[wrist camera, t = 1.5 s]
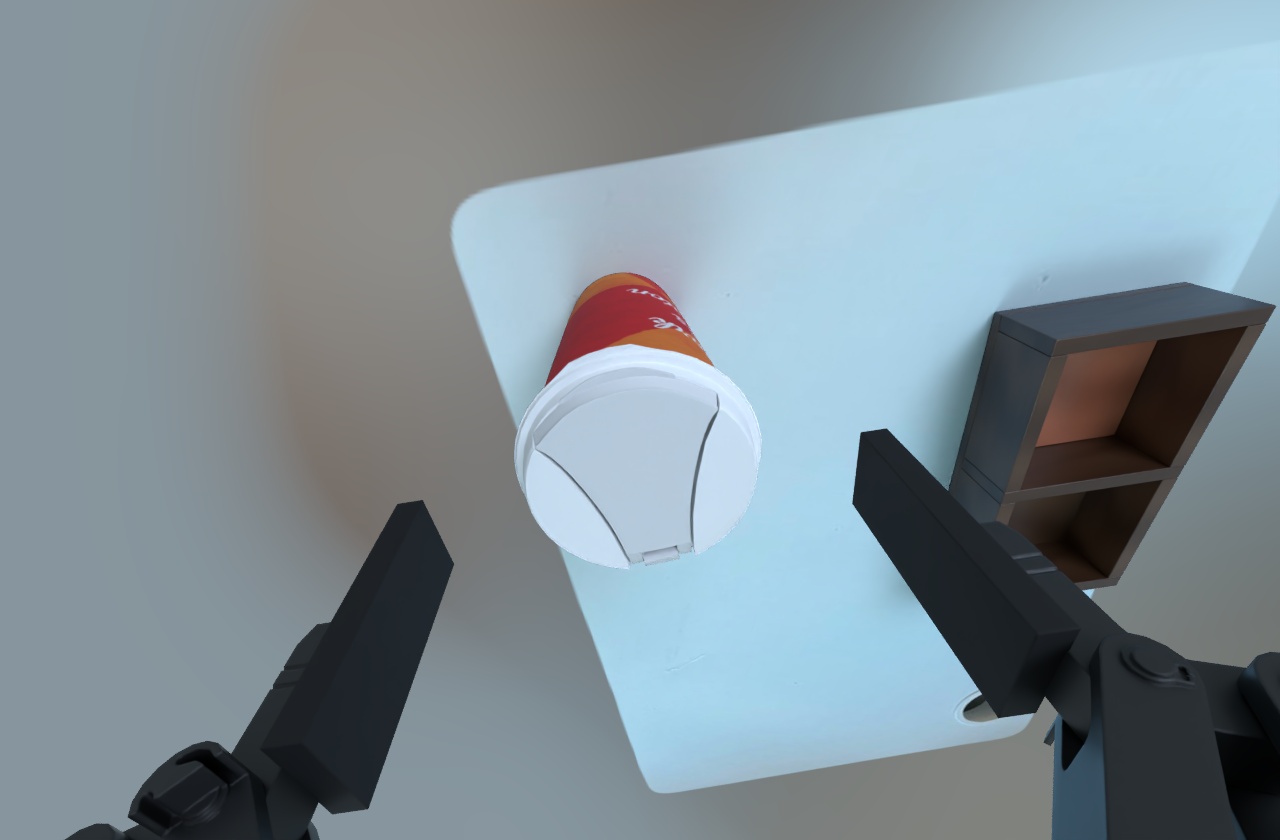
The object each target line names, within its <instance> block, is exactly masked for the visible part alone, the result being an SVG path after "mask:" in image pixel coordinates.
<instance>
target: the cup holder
mask: <svg viewBox="0 0 1280 840" xmlns="http://www.w3.org/2000/svg"><path fill="white" fill-rule="evenodd" d="M1275 308H1276V306H1275V305H1272V304H1268V303H1264V302H1260V301H1256V300H1253V299H1249V298H1245V297H1241V296H1237V295H1233V294H1229V293H1225V292H1221V291H1217V290H1214V289H1210V288H1206V287H1202V286H1198V285H1194V284H1191V283H1187V282H1183V283H1176V284H1170V285H1164V286H1157V287H1151V288H1145V289H1138V290H1132V291H1126V292H1119V293H1113V294H1107V295H1100V296H1094V297H1088V298H1082V299H1075V300H1069V301H1063V302H1056V303H1050V304H1044V305H1037V306H1031V307H1025V308H1018V309H1012V310H1006V311H999V312H995V314H994V318H993V322H992V326H991V330H990V334H989V338H988V341H987V345H986V349H985V353H984V357H983V361H982V365H981V369H980V372H979V376H978V380H977V384H976V388H975V392H974V396H973V399H972V403H971V407H970V411H969V415H968V419H967V423H966V427H965V430H964V434H963V438H962V442H961V446H960V450H959V454H958V458H957V461H956V465H955V469H954V473H953V477H952V481H951V485H950V488H949V493H950V494H951V495H952V496H953V497H954V498H955V499H956V500H957V501H958V502H959V503H960V504H961V505H962V506H963V507H964V508H965V509H966V510H967V511H968V513H969V514H970V515H971V516H972V517H973V518H974V519H975V520H976V521H977V522H978V523H986V522H992V521H1000V522H1001V523H1003V524H1005V525H1007V526H1008V527H1010V528H1012V529H1014V530H1015V531H1017V532H1019V533H1021V534H1022V535H1024V536H1025V537H1026V538H1027V539H1028V540H1029V541H1030V542H1031V543H1032V544H1033V545H1034V546H1035V547H1036V548H1037V549H1038V550H1039V551H1041V552H1042V553H1041V554H1042V556H1046V557H1047V558H1048V559H1049V560H1050V561H1051V562H1052V563H1053V564H1054V565H1055V566H1056V567H1057V570H1058V571H1062V572H1063V573H1064V574H1065V575H1066V576H1067V577H1068V578H1069V579H1070V580H1071V581H1072V582H1073V583H1074V584H1075V585H1076V586H1078V587H1079V588H1080V589H1081V590H1088V589H1094V588H1101V587H1108V586H1114V585H1117V583H1118V581H1119V579H1120V578H1121V576H1122V574H1123V572H1124V571H1125V569H1126V567H1127V566H1128V564H1129V562H1130V560H1131V558H1132V557H1133V555H1134V553H1135V552H1136V550H1137V548H1138V546H1139V545H1140V543H1141V541H1142V539H1143V538H1144V536H1145V534H1146V532H1147V531H1148V529H1149V527H1150V525H1151V524H1152V522H1153V520H1154V518H1155V517H1156V515H1157V513H1158V511H1159V510H1160V508H1161V506H1162V505H1163V503H1164V501H1165V499H1166V498H1167V496H1168V494H1169V492H1170V490H1171V489H1172V487H1173V485H1174V484H1175V482H1176V480H1177V477H1178V476H1179V475H1180V473H1181V471H1182V469H1183V468H1184V465H1186V463H1187V461H1188V459H1189V458H1190V456H1191V454H1192V452H1193V451H1194V449H1195V447H1196V446H1197V444H1198V442H1199V440H1200V439H1201V437H1202V435H1203V433H1204V432H1205V430H1206V428H1207V426H1208V425H1209V423H1210V421H1211V419H1212V418H1213V416H1214V414H1215V413H1216V411H1217V409H1218V407H1219V406H1220V404H1221V402H1222V400H1223V399H1224V397H1225V395H1226V393H1227V392H1228V390H1229V388H1230V386H1231V385H1232V383H1233V381H1234V379H1235V378H1236V376H1237V374H1238V373H1239V370H1240V369H1241V367H1242V366H1243V364H1244V362H1245V360H1246V359H1247V357H1248V355H1249V353H1250V352H1251V350H1252V348H1253V346H1254V345H1255V343H1256V341H1257V339H1258V338H1259V336H1260V334H1261V333H1262V331H1263V329H1264V327H1265V325H1266V324H1265V323H1266V322H1267V321H1268V320H1269V318H1270V316H1271V314H1272V313H1273V311H1274V309H1275Z"/></svg>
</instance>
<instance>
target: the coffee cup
mask: <svg viewBox="0 0 1280 840" xmlns="http://www.w3.org/2000/svg"><path fill="white" fill-rule="evenodd" d="M760 458H761V434H760V429H759V423H758V420H757V418H756V415H755V413H754V410H753V408H752V406H751V404H750V403H749V401H748V400H747V398H746V397H745V395H744V394H743V392H742V391H741V390H740V389H739V388H738V387H737V386H736V385H735V383H734V382H733V381H732V380H731V379H730V378H729V377H727V376H726V375H724V374H723V373H722V372H720V371H719V370H717V369H716V368H715V367H714V365H713V364H712V362H711V361H710V359H709V358H708V356H707V354H706V353H705V351H704V350H703V348H702V347H701V345H700V343H699V342H698V340H697V339H696V337H695V336H694V334H693V332H692V331H691V329H690V328H689V326H688V325H687V323H686V322H685V320H684V319H683V317H682V315H681V314H680V312H679V311H678V309H677V308H676V306H675V305H674V304H673V302H672V301H671V299H670V298H669V297H668V295H667V294H666V293H665V292H664V291H663V290H662V289H661V288H660V287H659V286H658V285H657V284H656V283H654V282H653V281H651V280H650V279H648V278H646V277H643V276H641V275H637V274H633V273H615V274H610V275H607V276H604V277H602V278H600V279H598V280H596V281H595V282H593V283H592V284H591V285H590V286H588V287H587V288H586V289H585V291H584V292H583V293H582V294H581V296H580V297H579V299H578V301H577V302H576V304H575V306H574V309H573V311H572V313H571V316H570V318H569V321H568V323H567V326H566V329H565V331H564V334H563V337H562V340H561V342H560V345H559V348H558V351H557V353H556V356H555V359H554V362H553V365H552V367H551V370H550V373H549V376H548V379H547V381H546V384H545V387H544V388H543V389H542V390H541V391H540V392H539V393H538V394H537V396H536V397H535V399H534V400H533V401H532V403H531V404H530V405H529V407H528V408H527V410H526V412H525V414H524V417H523V419H522V421H521V423H520V425H519V429H518V433H517V437H516V441H515V453H514V461H515V468H516V475H517V478H518V481H519V484H520V486H521V489H522V491H523V493H524V495H525V496H526V499H527V502H528V505H529V508H530V511H531V512H532V514H533V516H534V517H535V520H536V521H537V523H538V524H539V525H540V527H541V528H542V529H543V530H544V532H545V533H546V534H547V535H548V536H549V537H550V538H551V539H552V540H553V541H554V542H555V543H557V544H558V545H559V546H560V547H562V548H563V549H565V550H566V551H568V552H570V553H571V554H573V555H575V556H577V557H579V558H582V559H584V560H586V561H589V562H592V563H596V564H599V565H603V566H608V567H613V568H622V569H630V561H631V562H632V563H633V564H634V563H638V562H643V561H644V562H645V565H651V564H656V563H661V562H666V561H671V560H676V559H679V554H683V553H688V552H691V547H693V548H694V552H695V556H696V555H698V554H700V553H702V552H704V551H706V550H707V549H709V548H710V547H712V546H713V545H715V544H716V543H718V542H719V541H720V540H722V539H723V538H724V537H725V536H726V535H727V534H728V533H729V532H730V531H732V529H733V528H734V527H735V526H736V524H737V523H738V522H739V521H740V520H741V518H742V517H743V515H744V513H745V511H746V510H747V508H748V506H749V504H750V501H751V499H752V496H753V494H754V491H755V486H756V481H757V471H758V468H759V463H760Z"/></svg>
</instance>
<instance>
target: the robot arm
mask: <svg viewBox="0 0 1280 840" xmlns="http://www.w3.org/2000/svg"><path fill="white" fill-rule="evenodd" d="M852 504H853V505H854V507H855V508H856V510H857V511H858V513H859V514H860V515H861V517H862V518H863V520H864V521H865V523H866V524H867V526H868V527H869V529H870V530H871V532H872V533H873V535H874V536H875V537H876V539H877V540H878V542H879V543H880V545H881V546H882V548H883V549H884V551H885V552H886V554H887V555H888V557H889V558H890V560H891V561H892V562H893V564H894V565H895V567H896V568H897V570H898V571H899V573H900V574H901V576H902V577H903V579H904V580H905V582H906V583H907V585H908V586H909V587H910V589H911V590H912V592H913V593H914V595H915V596H916V598H917V599H918V601H919V602H920V604H921V605H922V607H923V608H924V609H925V611H926V612H927V614H928V615H929V617H930V618H931V620H932V621H933V623H934V624H935V626H936V627H937V629H938V630H939V632H940V633H941V634H942V636H943V637H944V639H945V640H946V642H947V643H948V645H949V646H950V648H951V649H952V651H953V652H954V654H955V655H956V657H957V658H958V659H959V661H960V662H961V664H962V665H963V667H964V668H965V670H966V671H967V673H968V674H969V676H970V677H971V679H972V680H973V681H974V683H975V684H976V686H977V687H978V689H979V690H980V692H981V693H982V695H983V696H984V698H985V699H986V701H987V702H988V704H989V705H990V706H991V708H992V709H993V711H994V712H995V714H996V715H997V717H998V718H1003V717H1010V716H1017V715H1024V714H1031V713H1036V712H1037V710H1038V708H1039V706H1040V704H1041V702H1042V701H1043V699H1044V697H1046V698H1047V699H1048V700H1049V702H1050V703H1051V704H1052V705H1053V707H1054V708H1055V709H1056V711H1057V712H1058V713H1059V714H1058V716H1057V717H1056V719H1055V721H1054V722H1053V724H1052V726H1051V727H1050V729H1049V731H1048V733H1047V735H1046V737H1045V740H1044V743H1046V744H1048V745H1050V746H1051V744H1052V743H1053V741H1054V740H1055V744H1054V777H1053V780H1054V781H1053V813H1052V814H1053V815H1052V840H1280V653H1276V652H1269V653H1265V654H1262V655H1259V656H1257V657H1256V658H1255V659H1254V660H1253V661H1252V663H1251V664H1250V665H1249V666H1248V667H1247V668H1242V667H1235V666H1228V665H1221V664H1214V663H1207V662H1200V661H1192V660H1188V659H1185V658H1183V657H1182V656H1181V655H1179V654H1178V653H1176V652H1174V651H1173V650H1172V649H1170V648H1169V647H1167V646H1166V645H1163V644H1161V643H1159V642H1156V641H1154V640H1152V639H1150V638H1147V637H1144V636H1140V635H1135V634H1131V633H1127V632H1126V631H1125V630H1124V629H1122V628H1121V627H1120V626H1119V625H1118V624H1117V623H1116V622H1114V621H1113V620H1112V619H1111V618H1110V617H1109V616H1108V615H1107V614H1106V613H1105V612H1104V611H1103V610H1102V609H1101V608H1100V607H1099V606H1097V604H1095V603H1094V602H1093V601H1092V600H1091V599H1090V598H1089V597H1088V596H1087V595H1086V594H1085V593H1084V592H1083V591H1082V590H1081V589H1080V588H1079V587H1078V586H1076V585H1075V584H1074V583H1073V582H1072V581H1071V580H1070V579H1069V578H1068V577H1067V576H1066V575H1065V574H1064V573H1063V572H1062V571H1058V570H1057V567H1056V566H1055V565H1054V564H1053V563H1052V562H1051V561H1050V560H1049V559H1048V558H1047V557H1046V556H1042V554H1041V553H1042V552H1041V551H1039V550H1038V549H1037V548H1036V547H1035V546H1034V545H1033V544H1032V543H1031V542H1030V541H1029V540H1028V539H1027V538H1026V537H1025V536H1024V535H1022V534H1021V533H1019V532H1017V531H1015V530H1014V529H1012V528H1010V527H1008V526H1007V525H1005V524H1003V523H1001V522H1000V521H992V522H986V523H978V522H977V521H976V520H975V519H974V518H973V517H972V516H971V515H970V514H969V513H968V511H967V510H966V509H965V508H964V507H963V506H962V505H961V504H960V503H959V502H958V501H957V500H956V499H955V498H954V497H953V496H952V495H951V494H950V493H949V492H948V491H947V490H946V489H945V488H944V487H943V486H942V485H941V484H940V483H939V482H938V481H937V480H936V479H935V478H934V477H933V476H932V475H931V474H930V472H929V471H928V470H927V469H926V468H925V467H924V466H923V465H922V464H921V463H920V462H919V461H918V460H917V459H916V458H915V457H914V456H913V455H912V454H911V453H910V452H909V451H908V450H907V449H906V448H905V447H904V446H903V445H902V444H901V443H900V442H899V441H898V440H897V439H896V438H895V437H894V436H893V435H892V433H891V432H890V431H889V430H888V429H880V430H874V431H867V432H861V434H860V443H859V451H858V460H857V468H856V477H855V486H854V494H853V503H852ZM453 566H454V563H453V561H452V559H451V557H450V555H449V553H448V551H447V549H446V547H445V545H444V543H443V541H442V539H441V536H440V535H439V532H438V530H437V528H436V526H435V525H434V522H433V520H432V518H431V516H430V514H429V512H428V510H427V508H426V506H425V504H424V502H423V500H420V501H414V502H407V503H401V504H397V506H396V508H395V509H394V511H393V513H392V515H391V516H390V518H389V520H388V522H387V524H386V525H385V527H384V529H383V531H382V532H381V534H380V536H379V538H378V539H377V541H376V543H375V545H374V547H373V549H372V550H371V552H370V554H369V555H368V557H367V559H366V561H365V563H364V564H363V566H362V568H361V570H360V571H359V573H358V575H357V577H356V579H355V580H354V582H353V584H352V586H351V588H350V589H349V591H348V593H347V595H346V596H345V598H344V600H343V602H342V603H341V605H340V607H339V609H338V611H337V612H336V614H335V616H334V618H333V619H332V621H331V622H330V623H323V624H317V625H316V626H315V627H314V628H313V629H312V630H311V631H310V632H309V633H308V635H306V636H305V637H304V638H303V639H302V640H301V642H300V643H299V644H298V645H297V646H296V648H295V649H294V651H293V653H292V654H291V656H290V658H289V659H288V661H287V663H286V664H285V666H284V671H281V673H280V674H279V676H278V678H277V679H276V681H275V683H274V684H273V689H272V690H270V691H269V693H268V694H267V696H266V697H265V699H264V701H263V703H262V704H261V706H260V707H259V709H258V711H257V712H256V714H255V716H254V717H253V719H252V721H251V722H250V724H249V726H248V727H247V729H246V731H245V732H244V734H243V735H242V737H241V739H240V740H239V742H238V744H237V745H236V747H235V749H234V750H233V752H232V754H230V753H229V752H228V751H227V750H225V749H224V748H223V747H222V746H221V745H220V744H218V743H215V742H210V741H205V742H201V743H197V744H194V745H191V746H190V747H188V748H186V749H184V750H182V751H180V752H178V753H177V754H175V755H174V756H173V757H171V758H170V759H169V760H167V762H165V763H164V764H162V765H161V766H160V767H159V768H158V769H157V770H156V771H155V772H154V773H153V774H152V775H151V776H150V777H149V778H148V779H147V781H146V782H145V783H144V784H143V785H142V787H141V788H140V790H139V791H138V793H137V795H136V796H135V798H134V799H133V801H132V804H131V807H130V811H129V814H128V818H130V819H131V820H133V821H135V822H136V823H138V824H139V825H137V826H135V827H133V828H131V829H128V830H126V831H124V832H121V831H119V830H118V829H116V828H115V827H113V826H111V825H109V824H94V825H91V826H89V827H86V828H84V829H81V830H79V831H77V832H76V833H74V834H73V835H71V836H70V837H68V838H67V839H65V840H319V836H318V832H317V829H316V828H315V826H314V825H313V823H312V822H311V819H312V816H313V814H314V812H315V809H316V807H317V805H318V802H319V803H320V804H321V805H323V806H324V807H325V808H326V809H327V810H328V811H329V812H330V813H331V814H337V813H345V812H351V811H358V810H365V809H368V808H369V805H370V802H371V800H372V797H373V794H374V791H375V788H376V785H377V782H378V780H379V777H380V774H381V771H382V768H383V765H384V763H385V760H386V757H387V754H388V751H389V748H390V745H391V742H392V740H393V737H394V734H395V731H396V728H397V725H398V723H399V720H400V717H401V714H402V711H403V708H404V705H405V703H406V700H407V697H408V694H409V691H410V688H411V685H412V683H413V680H414V677H415V674H416V671H417V668H418V665H419V663H420V660H421V657H422V654H423V651H424V648H425V646H426V643H427V640H428V637H429V634H430V631H431V629H432V626H433V623H434V620H435V617H436V614H437V611H438V609H439V605H440V603H441V600H442V597H443V594H444V591H445V589H446V586H447V583H448V580H449V577H450V574H451V571H452V569H453Z"/></svg>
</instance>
